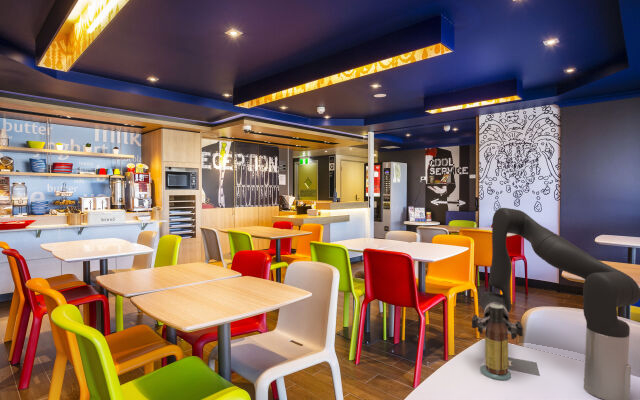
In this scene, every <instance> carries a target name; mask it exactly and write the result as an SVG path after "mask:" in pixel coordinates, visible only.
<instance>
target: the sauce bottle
mask: <svg viewBox="0 0 640 400" xmlns="http://www.w3.org/2000/svg"><path fill="white" fill-rule="evenodd" d="M489 310H490V317H489V322H488V324H487V326H486V330H484V331H485V334H484V335H485V337H484V338H485V339H484V340H485V342H484V344H485V347H484V349H485V350H484V352H485V354H484V355H485V357H484V358H485V359H484V361H485V362H484V363H485V364H484V365H486V369H487V370H488V371H489V372H491V373H493V374H498V375H505V374H507V373H508V371H509V369H508V357H509V338H508V335H509V334H508V331H507V327H506V325H505V323H504V319H503V312H504V307H503V306H502V305H497V304H491V305H489Z"/></svg>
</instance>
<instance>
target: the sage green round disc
mask: <svg viewBox="0 0 640 400" xmlns="http://www.w3.org/2000/svg"><path fill="white" fill-rule="evenodd" d="M479 369H480V370H479V371H480V372H481V374H482V375H484V376H485V377H487V378H489V379H492V380H496V381H509V380H510V379H511V378H512V372H511V370H508V373H507V374H505V375H498V374H493V373H491V372H489V371H488V370H487V369H486V364H483V365H481V366H480V368H479Z"/></svg>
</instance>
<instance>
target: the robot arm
mask: <svg viewBox="0 0 640 400" xmlns="http://www.w3.org/2000/svg"><path fill="white" fill-rule="evenodd" d="M491 229H492V230H491V244H492V245H491V248H492V249H491V252H492V253H491V254H492V255H491V256H492V257H491V266H490V270H489V271H490V272H489V277H488V284H489V285H490V286H491V287H494V288H496V289H498V290H500V291H501V293H502V294H500V293H497V292H493V291H484V292H483V293H482V294H481V296H480V299H479V300H480V301H479V304H480V306H481V308H482V310H483V311H484V312H483V317H482V318H481V317H479V316H478V315H477V314H474V315H473V316H472V319H471V328H473V329H476V328H477V332H478V333H479V334H480V335H482V334H483V332H484V331H486V326H487V324H488V322H489V317H490V310H489V305H491V304H497V305H502V306H503V307H504V312H503V319H504V323H505V325H506V327H507V331H508V335H510V338H511V340H515V339H517V337H518V336H519V337H523V336H524V334H523V332H524V326H523V324H522V321H516V322H515V323H514V322H511V321H510V317H509V313H510V311H511V310H512V301H511V294H510V293H511V292H510V283H511V277H512V269H513V268H512V261H511V258H510V254H509V252H508V248H507V235H508V234H511V235H512V234H513V235H517V236H519V237H522V238H523V239H524V240H526V241H528V242H529V243H530V246H531V248H532V250H533V252H534V253H535V254H536V256H537V257H539V259H542V261H544V262H546V263H547V264H548V265H550V266H552V267H553V268H555V269H559V270H560V271H562V272H565V273H568V274H570V275H574V276H576V277H579V278H582V279H583V280H584V282H583V285H582V286H583V287H582V288H583V289H582V294H583V295H582V299H583V302H582V303H583V316H584V320H585V323H586V327H585V328H586V329H585V330H586V332H585V333H586V334H585V350H584V352H585V354H584V355H585V356H584V377H583V388H584V390H585V391H586V392H587V393H588V394H590V395H592V396H594V397H596V398H599V399H602V400H630V398H631V397H630V393H631V376H632V375H631V374H632V372H631V371H632V368H631V367H632V366H631V365H630V364H629V354H630V353H629V350H630V334H631V333H630V331H631V329H630V325H629V324H628V323H627V322H626V321H624V320H622V319H619V318H618V308H621V307H629V306H632V305H634V304H637V303H638V302H639V301H640V286H639V284H638V283H637V282H636V280H634V279H633V278H632V277H631V276H630V275H628V274H626V273H625V272H623V271H621V270H619V269H616V268H614V267H612V266H611V265H609V264H606V263H604V262H603V261H600V259H597V258H595V257H594V256H592V255H590V254H589V253H587V252H586V251H584V250H582V249H581V248H579V247H578V246H576V245H574V244H573V243H571V242H570V241H569V240H567V239H565V238H564V237H563V236H560V235H559V234H557V233H555V232H553V231H551V230H550V229H549V228H546V227H544V226H543V225H541V224H540V223H538V222H537V221H536V220H535V219H533V218H532V217H531V216H530V215H528V214H527V213H525V212H524V211H522V210H519V209H515V208H514V209H513V208H508V207H500V208H498V209H496V210H495V212H494V214H493V216H492V223H491ZM483 330H484V331H483ZM517 335H518V336H517Z"/></svg>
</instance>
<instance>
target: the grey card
mask: <svg viewBox="0 0 640 400" xmlns="http://www.w3.org/2000/svg"><path fill="white" fill-rule="evenodd" d="M537 363H538V362H536V361H530V360H525V359H520V358H514V357H509V356H508V370H509V371H513V372H514V371H515V372H521V373H525V374H529V375H533V376H534V375H535V376H539V377H540V376H541V375H540V370H539V366H538V364H537Z"/></svg>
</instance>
